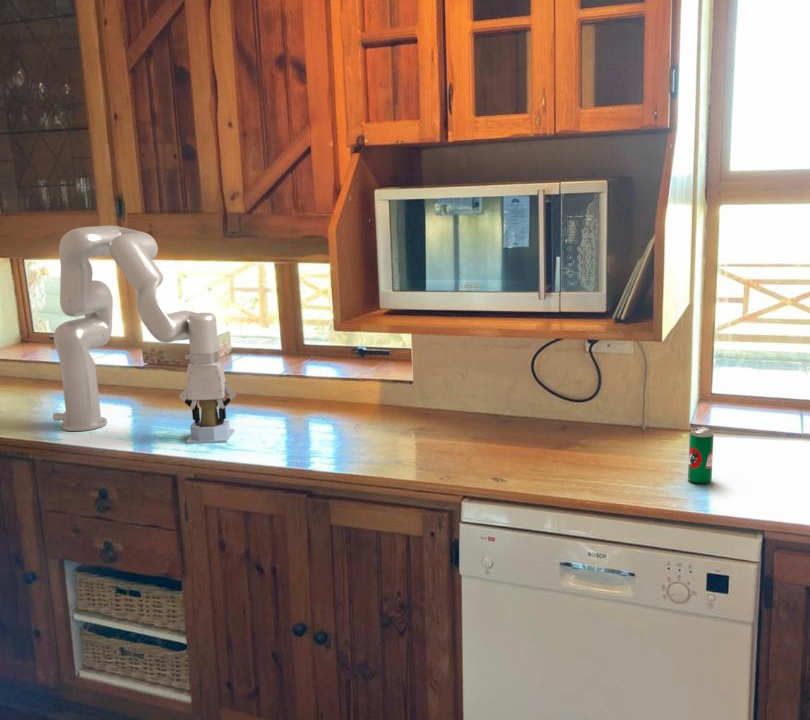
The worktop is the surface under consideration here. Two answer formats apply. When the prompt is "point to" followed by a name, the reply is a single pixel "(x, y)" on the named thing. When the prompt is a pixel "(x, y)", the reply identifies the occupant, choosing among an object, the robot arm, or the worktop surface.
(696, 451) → the soda can
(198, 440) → the grey octagonal holder
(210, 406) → the cork
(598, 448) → the worktop surface
